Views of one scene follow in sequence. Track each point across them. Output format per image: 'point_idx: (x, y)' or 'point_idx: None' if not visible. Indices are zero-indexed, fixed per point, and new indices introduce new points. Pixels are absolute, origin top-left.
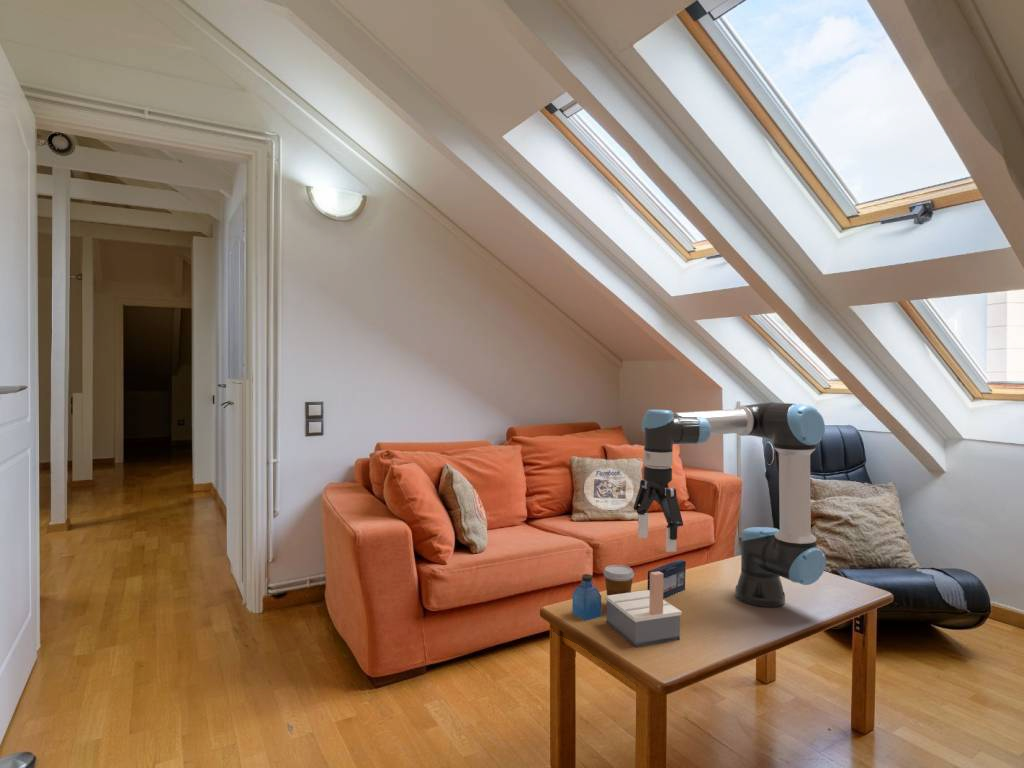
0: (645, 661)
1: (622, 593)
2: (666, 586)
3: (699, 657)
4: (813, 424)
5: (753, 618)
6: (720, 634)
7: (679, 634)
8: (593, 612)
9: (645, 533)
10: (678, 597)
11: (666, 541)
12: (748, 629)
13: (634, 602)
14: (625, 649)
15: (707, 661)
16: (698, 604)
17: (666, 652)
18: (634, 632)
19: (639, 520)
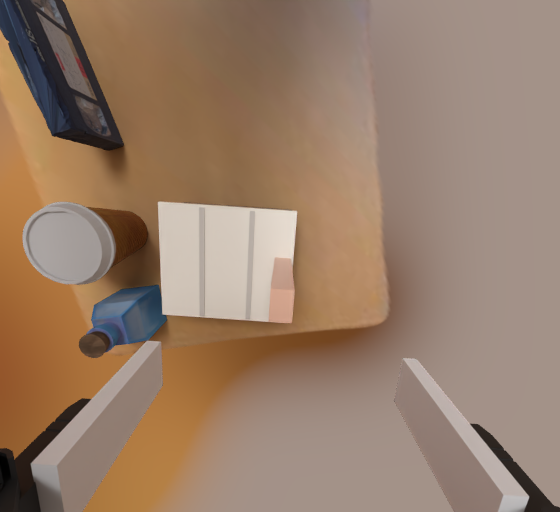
0: (330, 309)
1: (129, 245)
2: (82, 80)
3: (358, 221)
4: None
5: None
6: (305, 114)
7: (292, 210)
8: (157, 306)
9: (151, 367)
10: (107, 59)
11: (422, 445)
12: (311, 30)
13: (216, 278)
14: None
15: (375, 218)
16: (158, 39)
17: (320, 261)
18: None
19: (98, 480)
